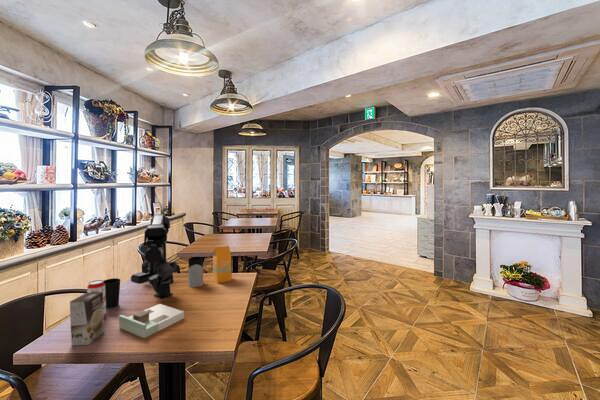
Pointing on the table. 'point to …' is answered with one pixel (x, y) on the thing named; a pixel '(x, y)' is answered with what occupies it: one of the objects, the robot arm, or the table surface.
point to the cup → (112, 292)
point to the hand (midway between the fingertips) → (157, 292)
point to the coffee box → (86, 318)
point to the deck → (151, 320)
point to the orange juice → (222, 264)
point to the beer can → (98, 287)
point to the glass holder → (195, 272)
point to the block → (141, 316)
